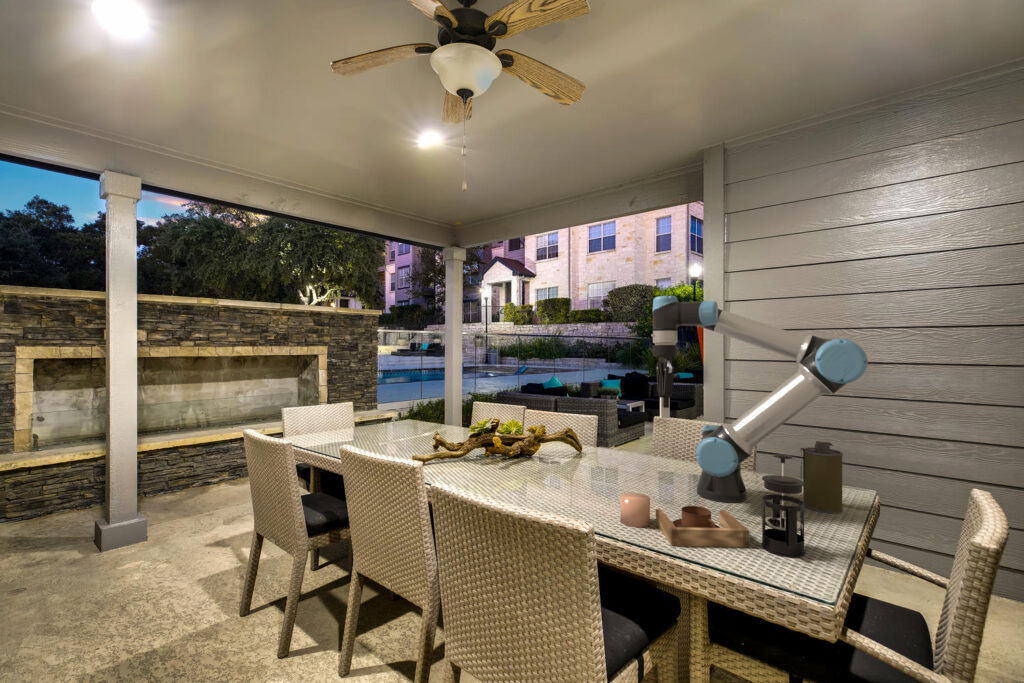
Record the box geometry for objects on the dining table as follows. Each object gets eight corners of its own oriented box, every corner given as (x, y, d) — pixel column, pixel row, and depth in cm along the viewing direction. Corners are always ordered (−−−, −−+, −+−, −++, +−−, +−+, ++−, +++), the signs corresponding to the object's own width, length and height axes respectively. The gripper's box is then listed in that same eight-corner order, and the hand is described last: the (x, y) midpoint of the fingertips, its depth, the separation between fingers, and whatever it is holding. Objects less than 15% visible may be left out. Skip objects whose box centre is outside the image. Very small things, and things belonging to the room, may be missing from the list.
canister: (839, 504, 148) (839, 440, 148) (846, 515, 139) (846, 447, 139) (798, 500, 153) (798, 437, 153) (803, 510, 143) (803, 443, 143)
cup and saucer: (727, 533, 126) (727, 510, 126) (710, 547, 117) (710, 522, 117) (684, 521, 134) (684, 499, 134) (664, 533, 125) (664, 510, 125)
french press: (755, 538, 122) (755, 449, 122) (795, 541, 120) (795, 450, 120) (771, 559, 110) (770, 460, 111) (815, 562, 109) (815, 462, 109)
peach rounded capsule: (645, 517, 137) (645, 493, 137) (653, 527, 129) (653, 502, 129) (617, 516, 137) (617, 492, 137) (623, 527, 129) (623, 501, 129)
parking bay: (724, 524, 131) (724, 510, 132) (749, 546, 117) (749, 530, 117) (655, 523, 132) (655, 509, 132) (671, 545, 118) (671, 529, 118)
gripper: (647, 344, 160) (647, 414, 160) (658, 344, 147) (658, 420, 147) (670, 344, 160) (670, 414, 159) (683, 344, 146) (683, 420, 146)
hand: (664, 417), depth 153 cm, fingers closed
